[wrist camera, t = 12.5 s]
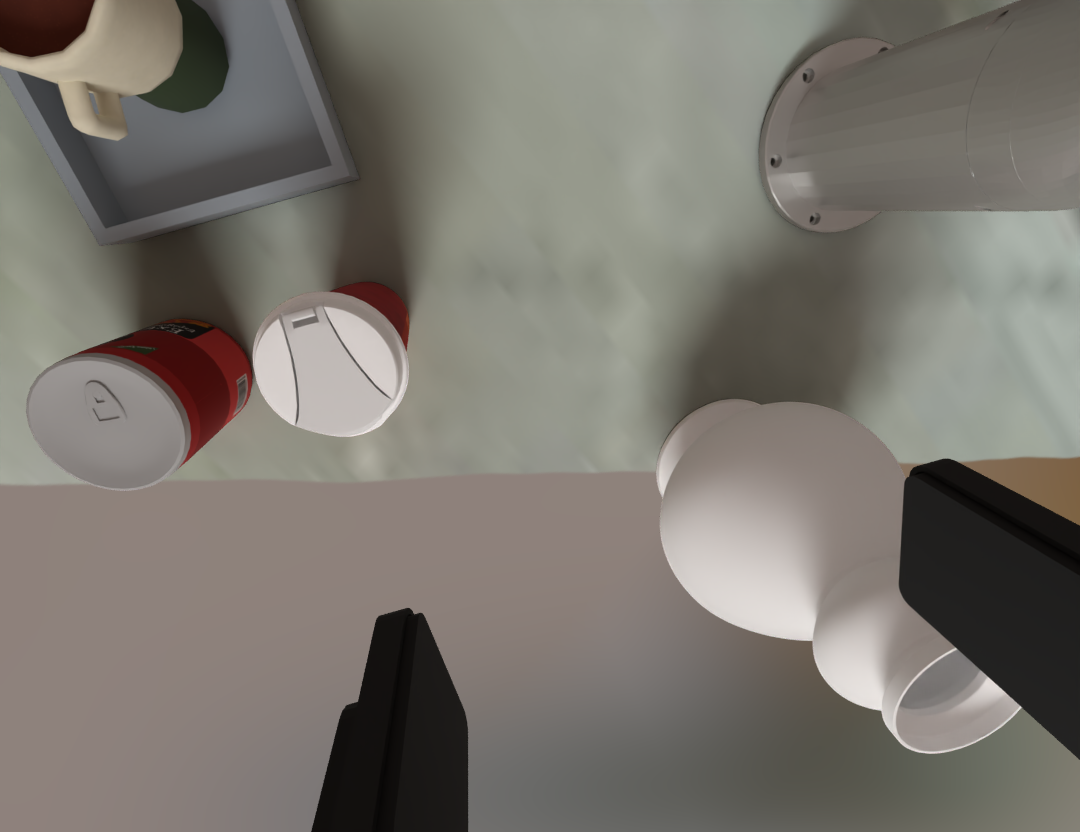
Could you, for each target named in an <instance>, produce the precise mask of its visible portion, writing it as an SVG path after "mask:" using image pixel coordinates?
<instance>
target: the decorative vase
mask: <svg viewBox="0 0 1080 832" xmlns="http://www.w3.org/2000/svg"><path fill="white" fill-rule="evenodd" d="M656 477H657V484H658V488H659V491H660V493H661V496H662V498H663V499H662V504H661V511H660V532H661V540H662V545H663V549H664V552H665V555H666V558H667V560H668V562H669V565H670V567H671V568H672V570H673V572H674V574H675V575H676V577H677V579H678V580H679V581H680V583H681V584H682V585H683V587H684V588H685V589H686V590H687V592H688V593H689V594H690V595H691V596H692V597H693V598H694V599H695V600H696V601H697V602H698V603H699V604H701V605H702V606H703V607H704V608H706V609H707V610H708V611H710V612H711V613H713V614H714V615H716V616H717V617H719V618H721V619H723V620H725V621H727V622H729V623H731V624H733V625H736V626H738V627H741V628H744V629H747V630H750V631H753V632H756V633H760V634H764V635H768V636H772V637H778V638H784V639H792V640H806V641H813V653H814V658H815V661H816V664H817V667H818V669H819V671H820V673H821V675H822V676H823V678H824V679H825V680H826V682H827V683H828V684H829V685H830V686H831V687H832V688H833V689H834V690H835V691H836V692H837V693H838V694H840V695H841V696H843V697H844V698H846V699H847V700H849V701H851V702H853V703H855V704H858V705H860V706H863V707H867V708H870V709H875V710H881V711H882V717H883V720H884V722H885V724H886V726H887V727H888V729H889V730H890V731H891V732H892V734H893V735H894V736H895V737H896V738H897V740H898V741H899V742H900V743H901V744H902V745H903V746H905V747H906V748H908V749H910V750H913V751H916V752H920V753H943V752H948V751H953V750H957V749H960V748H963V747H966V746H968V745H971V744H973V743H975V742H977V741H979V740H981V739H983V738H985V737H987V736H988V735H990V734H991V733H993V732H994V731H996V730H997V729H999V728H1000V727H1001V726H1003V725H1004V724H1005V723H1006V722H1008V721H1009V720H1010V719H1011V718H1012V717H1013V716H1014V715H1015V714H1016V713H1017V712H1018V711H1019V710H1020V709H1021V706H1020V705H1019V704H1017V703H1016V702H1015V701H1014V700H1013V699H1012V698H1011V697H1010V696H1009V695H1007V694H1006V693H1005V692H1004V691H1003V690H1002V689H1001V688H1000V687H999V686H997V685H996V684H995V683H994V682H993V681H992V680H991V679H990V678H989V677H988V676H986V675H985V674H984V673H983V672H982V671H981V670H980V669H979V668H978V667H976V666H975V665H974V664H973V663H972V662H971V661H970V660H969V659H968V658H966V657H965V656H964V655H963V654H962V653H961V652H960V651H959V650H958V649H957V648H955V647H954V646H953V645H952V644H951V643H950V642H949V641H948V640H947V639H945V638H944V637H943V636H942V635H941V634H940V633H939V632H938V631H937V630H935V629H934V628H933V627H932V626H931V625H930V624H929V623H928V622H927V621H926V620H924V619H923V618H922V617H921V616H920V615H919V614H918V613H917V612H916V611H914V610H913V609H912V608H911V607H910V606H909V605H908V604H907V603H906V602H905V600H904V599H903V597H902V595H901V593H900V590H899V567H900V549H901V530H902V512H903V493H904V482H905V480H906V479H905V477H904V474H903V472H902V470H901V468H900V466H899V464H898V462H897V460H896V459H895V457H894V456H893V454H892V453H891V452H890V450H889V449H888V448H887V447H886V445H885V444H884V443H883V442H882V441H881V440H880V439H879V438H878V437H877V436H876V435H875V434H874V433H872V432H871V431H870V430H869V429H867V428H866V427H865V426H863V425H862V424H861V423H859V422H858V421H856V420H854V419H853V418H851V417H849V416H847V415H845V414H843V413H841V412H839V411H836V410H834V409H831V408H828V407H825V406H821V405H816V404H811V403H804V402H777V403H770V404H764V405H760V404H758V403H755V402H752V401H749V400H743V399H726V400H720V401H716V402H713V403H710V404H707V405H705V406H703V407H701V408H699V409H697V410H695V411H693V412H692V413H690V414H689V415H688V416H686V417H685V418H684V419H683V420H682V421H681V422H680V423H679V424H678V425H677V426H676V427H675V428H674V429H673V430H672V432H671V433H670V434H669V436H668V437H667V439H666V441H665V442H664V444H663V446H662V449H661V451H660V454H659V457H658V462H657V469H656Z"/></svg>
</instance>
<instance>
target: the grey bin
mask: <svg viewBox="0 0 1080 832" xmlns="http://www.w3.org/2000/svg"><path fill="white" fill-rule="evenodd" d="M192 1H194V2H195V3H196V4H197V5H199V6H200V7H201V8H203V9H204V10H205V11H206V12H207V14H208V15H209V17H210V18H211V20H212V21H213V23H214V25H215V26H216V28H217V29H218V31H219V32H220V34H221V35H222V37H223V39H224V44H225V49H226V54H227V59H228V64H229V69H228V73H227V76H226V80H225V84H224V87H223V91H222V92H221V93H220V94H219V95H218V96H217V97H216V98H215V99H214V100H213V101H212V102H211V103H210V104H209V105H208V106H207V107H205V108H201V109H197V110H193V111H189V112H185V113H179V112H175V111H171V110H166V109H162V108H158V107H156V106H154V105H152V104H150V103H148V102H146V101H144V100H142V99H140V98H139V97H137V96H136V95H133V96H129V97H124V98H120V102H121V105H122V109H123V113H124V116H125V120H126V124H127V130H128V135H127V136H126V137H124V138H122V139H120V140H118V141H116V140H111V139H106V138H101V137H97V136H92V135H88V134H86V133H83V132H81V131H79V130H78V129H76V128H74V127H73V125H72V123H71V121H70V119H69V117H68V115H67V111H66V108H65V105H64V102H63V98H62V95H61V92H60V89H59V86H58V84H57V83H54V82H50V81H47V80H44V79H41V78H38V77H35V76H32V75H29V74H26V73H23V72H20V71H16V70H13V69H9V68H6V67H3V66H1V65H0V73H1V74H2V76H3V78H4V80H5V81H6V83H7V85H8V87H9V88H10V90H11V92H12V94H13V95H14V97H15V99H16V101H17V102H18V104H19V106H20V108H21V109H22V111H23V113H24V115H25V116H26V118H27V120H28V122H29V123H30V125H31V127H32V128H33V130H34V132H35V134H36V135H37V137H38V139H39V141H40V142H41V144H42V146H43V148H44V149H45V151H46V153H47V155H48V156H49V158H50V160H51V162H52V163H53V165H54V167H55V169H56V170H57V172H58V174H59V176H60V177H61V179H62V181H63V183H64V184H65V186H66V188H67V190H68V191H69V193H70V195H71V197H72V198H73V200H74V202H75V204H76V205H77V207H78V209H79V211H80V212H81V214H82V216H83V218H84V219H85V221H86V223H87V224H88V226H89V228H90V230H91V231H92V233H93V235H94V237H95V238H96V240H97V242H98V244H99V245H100V246H103V245H113V244H123V243H133V242H137V241H140V240H144V239H147V238H151V237H155V236H158V235H162V234H165V233H169V232H172V231H176V230H180V229H183V228H187V227H190V226H194V225H197V224H201V223H204V222H208V221H212V220H215V219H219V218H222V217H226V216H229V215H233V214H237V213H240V212H244V211H247V210H251V209H254V208H258V207H262V206H265V205H269V204H272V203H276V202H279V201H283V200H287V199H290V198H294V197H297V196H301V195H304V194H308V193H311V192H315V191H319V190H322V189H326V188H329V187H333V186H336V185H340V184H344V183H347V182H351V181H354V180H358V179H360V177H359V175H358V172H357V169H356V166H355V164H354V161H353V158H352V155H351V153H350V150H349V147H348V144H347V142H346V139H345V136H344V133H343V131H342V128H341V125H340V122H339V120H338V117H337V114H336V111H335V109H334V106H333V103H332V100H331V98H330V95H329V92H328V89H327V87H326V84H325V81H324V78H323V76H322V73H321V70H320V67H319V65H318V62H317V59H316V56H315V54H314V51H313V48H312V45H311V43H310V40H309V37H308V34H307V32H306V29H305V26H304V23H303V21H302V18H301V15H300V12H299V10H298V7H297V4H296V1H295V0H192ZM89 95H90V99H91V102H92V106H93V109H94V112H95V114H99V111H98V108H97V104H96V101H95V97H94V94H93V93H89Z"/></svg>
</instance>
